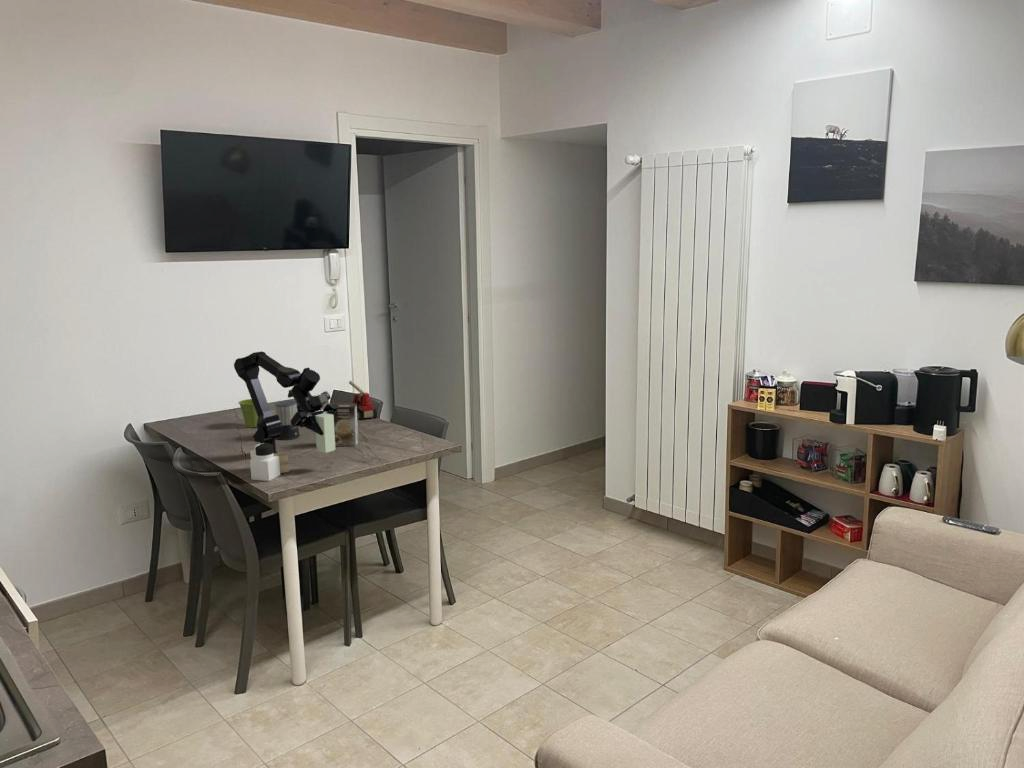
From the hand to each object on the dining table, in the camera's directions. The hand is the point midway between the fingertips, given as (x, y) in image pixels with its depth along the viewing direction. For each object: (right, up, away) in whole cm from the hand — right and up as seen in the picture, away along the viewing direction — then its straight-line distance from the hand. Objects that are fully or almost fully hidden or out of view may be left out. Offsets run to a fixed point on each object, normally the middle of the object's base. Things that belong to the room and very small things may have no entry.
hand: (327, 433), depth 272 cm
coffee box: (-1, -7, +35) cm, 36 cm away
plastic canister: (-26, -13, +4) cm, 29 cm away
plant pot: (-48, -1, +66) cm, 82 cm away
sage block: (-1, -6, +2) cm, 7 cm away
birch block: (-17, -14, +2) cm, 22 cm away
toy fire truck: (-4, +2, +81) cm, 81 cm away
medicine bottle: (-20, -15, -6) cm, 26 cm away
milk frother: (-30, -4, +50) cm, 59 cm away
